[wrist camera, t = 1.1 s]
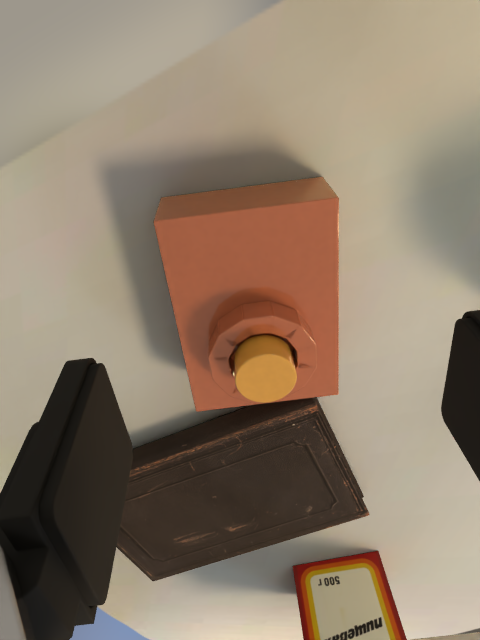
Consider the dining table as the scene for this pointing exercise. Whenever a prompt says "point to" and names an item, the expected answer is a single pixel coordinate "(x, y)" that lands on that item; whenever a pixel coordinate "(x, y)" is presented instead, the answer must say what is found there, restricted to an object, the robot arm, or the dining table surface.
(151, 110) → the dining table surface
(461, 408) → the robot arm
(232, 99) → the dining table surface
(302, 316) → the push button box
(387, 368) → the dining table surface
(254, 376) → the yellow push button
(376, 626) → the baking soda box
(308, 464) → the hardcover book
